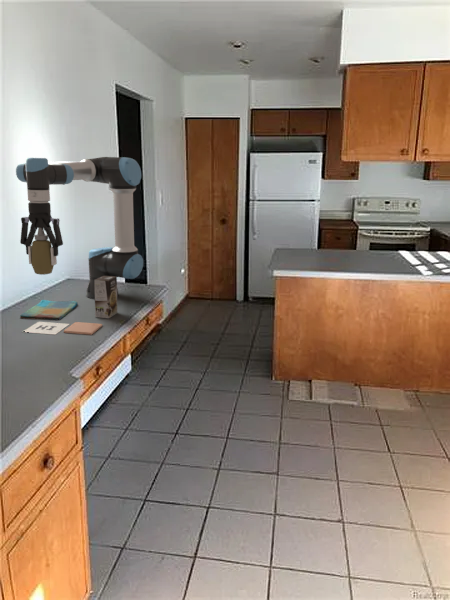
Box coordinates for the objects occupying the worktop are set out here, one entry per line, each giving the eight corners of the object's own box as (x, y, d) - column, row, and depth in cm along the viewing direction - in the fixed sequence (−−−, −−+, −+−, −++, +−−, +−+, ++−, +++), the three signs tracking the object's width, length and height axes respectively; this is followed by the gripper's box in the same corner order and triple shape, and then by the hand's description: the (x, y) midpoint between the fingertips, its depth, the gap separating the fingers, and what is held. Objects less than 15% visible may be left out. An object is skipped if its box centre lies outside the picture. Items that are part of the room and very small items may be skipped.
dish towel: (79, 306, 227) (78, 300, 226) (60, 321, 204) (60, 315, 204) (41, 304, 228) (41, 298, 227) (18, 319, 205) (18, 313, 204)
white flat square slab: (38, 321, 201) (38, 321, 201) (69, 324, 200) (69, 323, 200) (22, 332, 189) (22, 331, 189) (55, 334, 187) (55, 334, 187)
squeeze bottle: (53, 275, 186) (50, 226, 181) (29, 275, 184) (26, 226, 179) (56, 271, 193) (53, 223, 188) (34, 271, 192) (31, 223, 187)
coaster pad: (75, 323, 200) (75, 321, 200) (102, 325, 199) (102, 323, 199) (63, 332, 190) (63, 330, 190) (91, 334, 189) (91, 332, 188)
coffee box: (109, 318, 209) (108, 280, 204) (94, 317, 210) (93, 279, 206) (118, 312, 217) (117, 276, 213) (104, 311, 218) (103, 275, 214)
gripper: (6, 201, 179) (11, 264, 185) (62, 204, 177) (65, 267, 183) (17, 199, 187) (21, 260, 193) (71, 202, 184) (73, 263, 190)
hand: (42, 263), depth 188 cm, fingers closed on squeeze bottle, 8 cm apart
